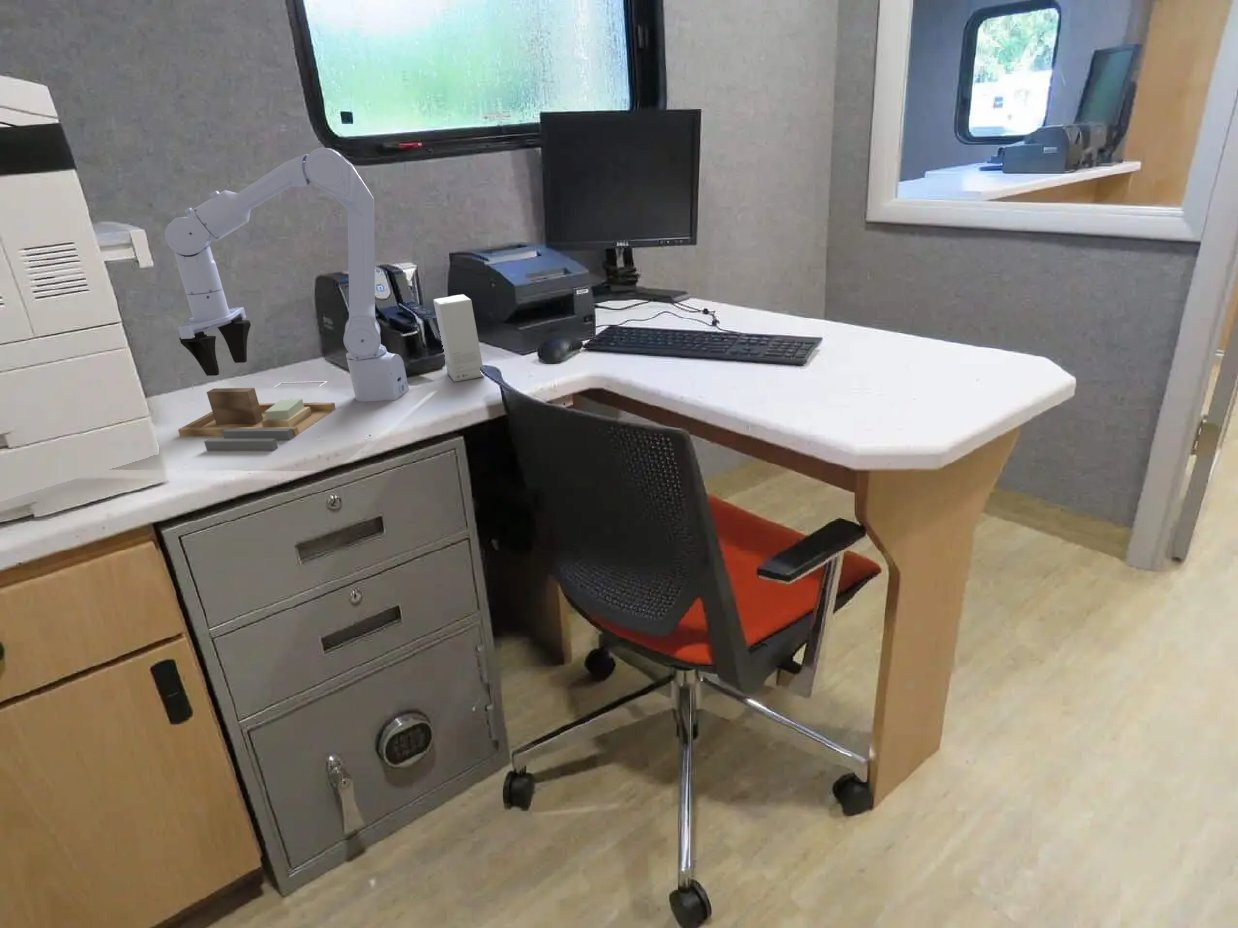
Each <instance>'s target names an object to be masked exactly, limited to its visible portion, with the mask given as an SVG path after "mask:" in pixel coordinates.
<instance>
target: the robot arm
mask: <svg viewBox="0 0 1238 928" xmlns="http://www.w3.org/2000/svg"><path fill="white" fill-rule="evenodd" d="M311 184H313V185H314V186H316V187H317V188H319V189H321V190H323V191H324V192H327V193H328V194H330V195H332V196H333V198H335V200H337V201H338V202H339V204H340V205H341V206H343V207H344V208H345V209H346V212H347V252H348V253H347V254H348V259H347V260H348V262H347V263H348V265H347V267H348V319H347V320H346V323H345V326H344V334H343V338H342V339H343V345H344V347H345V349H346V351H348V352H347V353H346V354H345V357H346V362H347V366H348V370H349V375H350V376H349V377H350V379H351V384H352V389H353V392H354V393H353V394H354V396H355V400H356V401H359V402H363V403H365V402H375V401H376V402H377V401H397V400H398V399H399V398H400V397H402V396H403V395H404V394H406V393H407V392H408V391H410V388H409V384H408V383H409V382H408V378H407V373H406V368H405V363H404V359H403V358H402V356H401V355H400V354H397V353H391V352H388V350H387V348H386V346H385V345H383V344H382V343H381V342H382V338H381V327H380V323H379V322H378V320H377V319H376V299H375V298H376V294H375V293H376V277H375V276H376V271H375V270H376V265H375V264H376V262H375V261H376V260H375V259H376V256H375V255H376V251H375V248H376V247H375V243H376V242H375V239H376V238H375V237H376V236H375V234H376V232H375V229H376V228H375V224H376V223H375V218H376V217H375V199H374V196H373V195H372V193H371V191H370V190H369V188H368V187H367V185H366V184H365V183H364V180H363V179H362V178H361V176H360V175H359V173H358V172H357V169H355V167H354V165H353V164H352V163H351V161H349V160H348V159H347V158H346V157H344V156H343V155H342V153H340V152H338V151H337V150H336V149H333V148H329V147H328V148H327V147H320V148H315V149H313V150H312V151H310V152H309V153H308V154H303V155H300V156H297V157H295V158H293V159H289V160H287V161H285V162H283V163H282V164H281V165H279V166H277V167H275V168H274V169H273V170H271V171H269V172H268V173H266V174H265V175H263V176H262V177H260V178H259V179H258V180H256V181H254V182H252V183H251V184H250V185H248V186H247V187H245V188H243V189H242V190H241V191H238V192H234V191H230V190H226V189H224V190H223V191H221V192H219V191H218V190H215V191H213V192H211V193H209V197H210V198H209V199H207V200H206V201H205V202H202V204H200V205H198V206H196V207H194V208H192V207H189V208H187V209H185V210H184V213H185V214H186V216H183V217H176V218H174V219H172V220H171V222H169V223H168V225H167V226H166V227H165V230H164V239H165V242H166V244H167V245H168V247H169V248H170V249H171V250H172V251H173V253H174V257H175V261H176V264H177V269H178V272H179V276H180V279H181V282H182V286H183V289H184V292H185V295H186V300H187V302H188V306H189V308H190V312H191V315H192V317H190V318H188V320H189V321H188V322H186V323H184V324H183V325H181V326H179V327H177V331H178V334H179V338H178V339H179V342H180V345H182V346H183V347H184V348H185V349H187V350H188V351H189V352H190V353H191V355H192V357H193V358H195V359H196V361H197V362H198V364H199V366H200V367H201V369H202V370H203V373H204V374H205V375H206V376H207V377H209V376H211V377H213V376H214V377H215V376H219V375H220V369H219V368H220V367H219V364H218V359H217V356H216V355H217V353H216V339H217V336H216V335H207V333H206V332H210V331H212V330H213V329H218V331H219V332H220V333H221V335H222V336H223V338H224V340H225V342H226V344H227V347H228V350H229V353H230V356H231V358H232V360H233V362H234V364H239V363H240V364H241V363H247V361H248V358H247V357H248V353H247V352H248V351H247V350H248V348H247V347H248V344H247V343H248V338H249V337H248V336H249V333H250V329H251V326H252V325H251V322H250V320H249V319H246V318H247V316H246V311H245V308H244V306H243V307H233V308H229V306H228V301H227V299H226V294H225V292H224V288H223V285H222V281H221V278H220V274H219V271H218V267H217V263H216V261H215V260H214V255H213V252H212V249H211V246H210V245H211V244H212V242H219V241H220V240H221V239H223V238H224V237H226V236H228V235H229V234H232V232H234V231H236V230H237V229H240V228H241V227H243V226H244V225H246V224H247V223H249V222H250V216H251V210H253V209H255V208H256V207H258V206H260V205H261V204H263V203H265V202H266V201H267V202H268V200H270V199H271V198H274V197H276V196H277V195H279V194H280V193H283V192H284V191H285V190H288V189H289V188H291V187H309V186H310V185H311ZM205 333H206V334H205Z"/></svg>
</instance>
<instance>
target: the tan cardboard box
mask: <svg viewBox="0 0 1238 928" xmlns="http://www.w3.org/2000/svg"><path fill="white" fill-rule="evenodd" d="M206 395H207V399H208V401H209V405H210V407H211V412H213V415H214V418H215V421H216V424H258V423H259V422H261V421H262V420H263V417H262V413H261V409H260V406H259V399H258V395H257V392H256V389H255V387H227V388H225V387H221V388H218V387H217V388H212V389H210V390H208V391H207V392H206Z"/></svg>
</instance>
